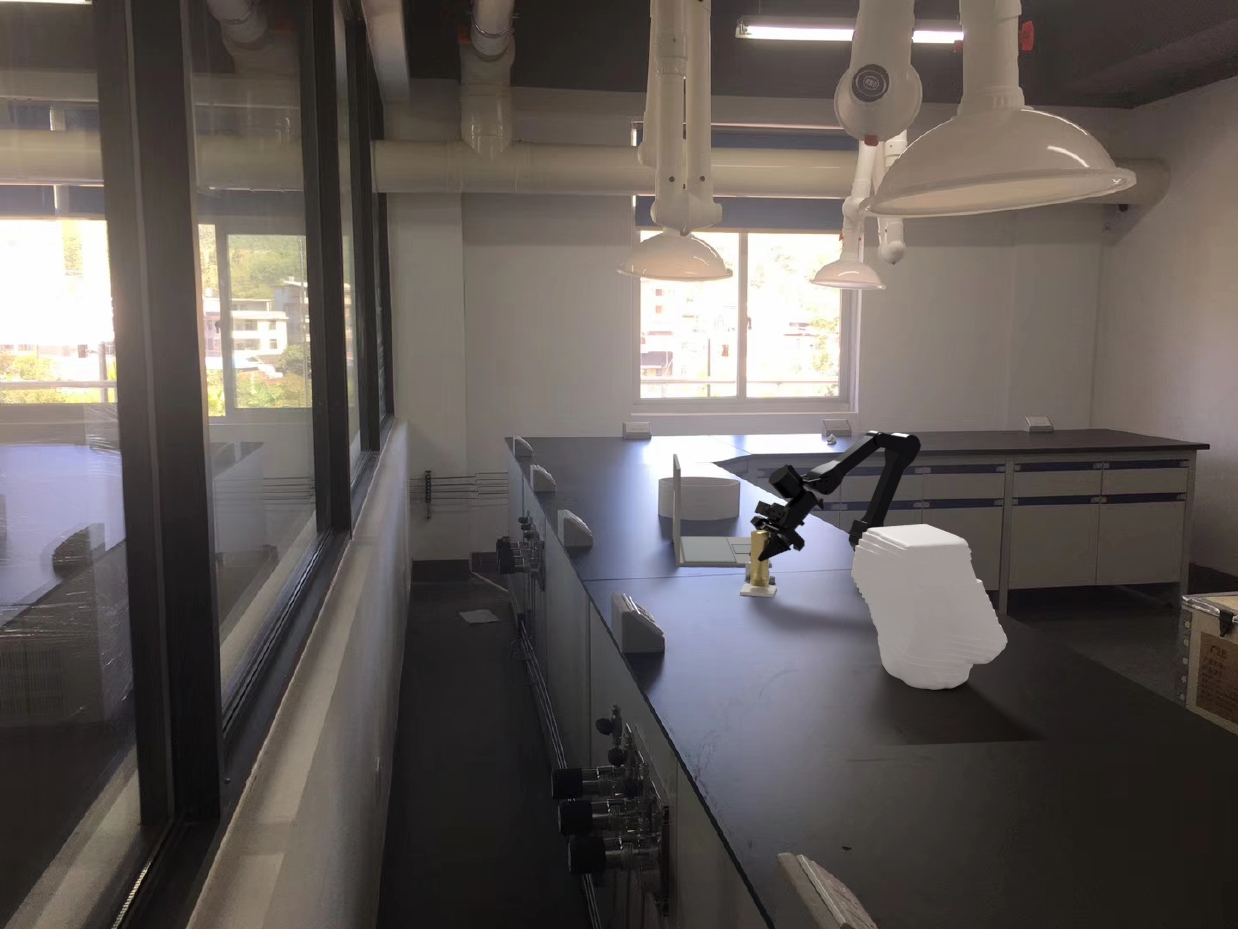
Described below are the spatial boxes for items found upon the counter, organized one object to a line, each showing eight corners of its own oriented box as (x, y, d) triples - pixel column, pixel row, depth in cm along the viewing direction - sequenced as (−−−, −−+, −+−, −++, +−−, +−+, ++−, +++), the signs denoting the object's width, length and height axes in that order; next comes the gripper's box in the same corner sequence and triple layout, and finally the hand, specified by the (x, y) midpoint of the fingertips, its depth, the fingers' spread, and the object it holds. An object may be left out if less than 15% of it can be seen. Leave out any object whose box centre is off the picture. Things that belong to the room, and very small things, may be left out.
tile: (777, 588, 229) (777, 585, 229) (773, 597, 222) (773, 594, 222) (744, 586, 232) (745, 583, 232) (739, 594, 224) (739, 591, 224)
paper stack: (941, 650, 184) (947, 522, 180) (1008, 702, 157) (1016, 554, 154) (837, 653, 182) (841, 524, 179) (887, 706, 155) (893, 556, 152)
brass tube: (766, 582, 229) (767, 530, 227) (769, 586, 224) (770, 534, 223) (749, 582, 229) (749, 530, 227) (751, 586, 224) (752, 534, 223)
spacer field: (777, 578, 239) (777, 563, 239) (772, 588, 230) (772, 572, 229) (746, 576, 242) (746, 561, 241) (739, 585, 232) (740, 570, 232)
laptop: (771, 568, 252) (773, 469, 248) (675, 567, 253) (676, 469, 249) (756, 541, 287) (758, 454, 283) (672, 540, 287) (672, 453, 284)
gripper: (757, 483, 233) (717, 529, 231) (794, 495, 216) (750, 545, 214) (785, 512, 237) (745, 558, 235) (823, 526, 219) (780, 575, 217)
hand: (754, 558), depth 225 cm, fingers closed on brass tube, 4 cm apart
